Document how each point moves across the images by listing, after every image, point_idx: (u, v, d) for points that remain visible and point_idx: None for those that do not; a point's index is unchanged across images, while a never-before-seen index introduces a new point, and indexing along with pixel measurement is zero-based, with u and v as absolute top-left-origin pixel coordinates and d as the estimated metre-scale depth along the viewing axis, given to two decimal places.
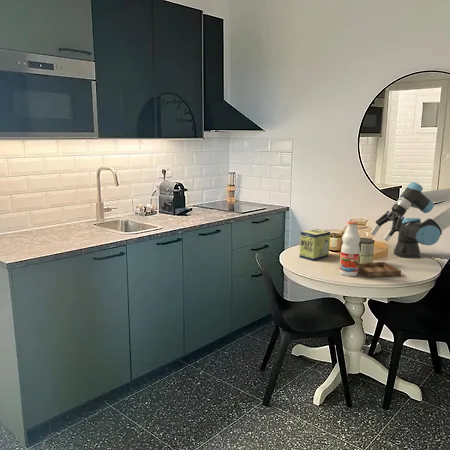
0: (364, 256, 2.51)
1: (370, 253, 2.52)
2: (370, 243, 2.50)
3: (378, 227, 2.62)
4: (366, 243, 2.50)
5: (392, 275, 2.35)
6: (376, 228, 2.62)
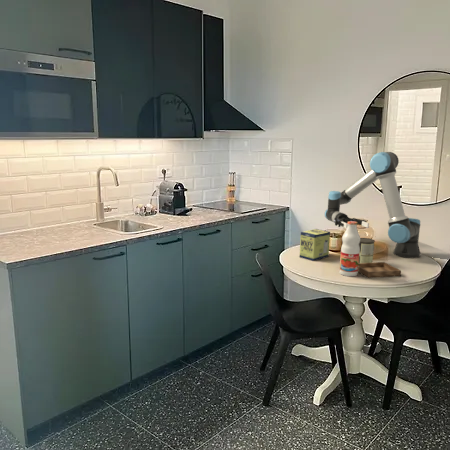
0: (364, 256, 2.51)
1: (370, 253, 2.52)
2: (370, 243, 2.50)
3: (362, 223, 2.69)
4: (366, 243, 2.50)
5: (392, 275, 2.35)
6: (363, 224, 2.68)
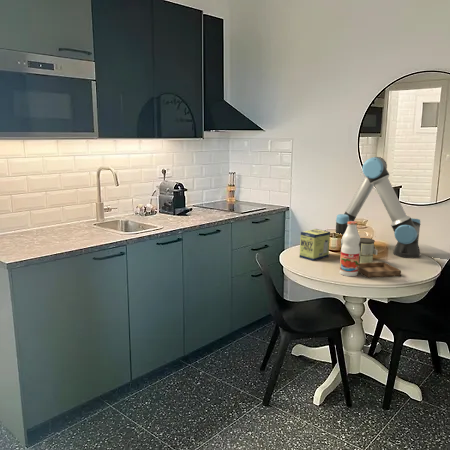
0: (364, 256, 2.51)
1: (370, 253, 2.52)
2: (370, 243, 2.50)
3: None
4: (366, 243, 2.50)
5: (392, 275, 2.35)
6: None
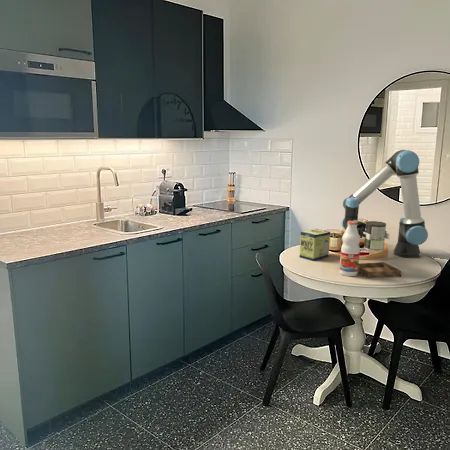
0: (375, 240, 2.36)
1: (381, 237, 2.36)
2: (381, 226, 2.34)
3: None
4: (377, 226, 2.34)
5: (392, 275, 2.35)
6: None
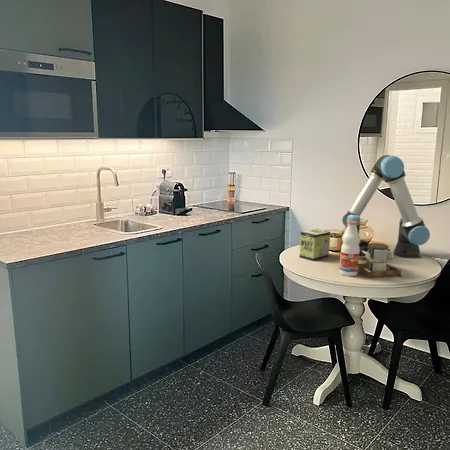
0: (377, 263, 2.36)
1: (384, 260, 2.36)
2: (384, 249, 2.34)
3: None
4: (379, 249, 2.34)
5: (392, 275, 2.35)
6: None
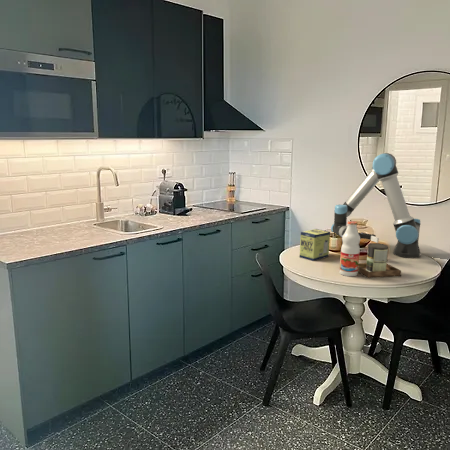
0: (377, 263, 2.36)
1: (384, 259, 2.36)
2: (384, 249, 2.34)
3: (371, 237, 2.57)
4: (380, 249, 2.34)
5: (392, 275, 2.35)
6: (373, 239, 2.56)
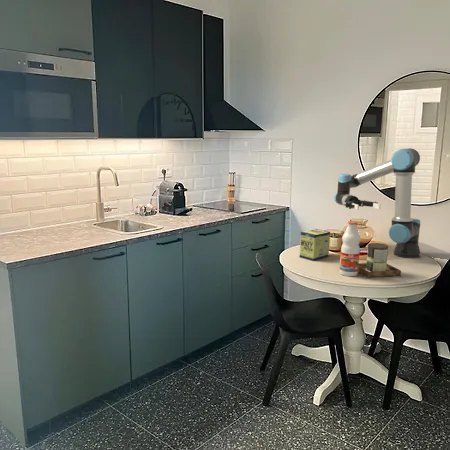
0: (377, 263, 2.36)
1: (384, 259, 2.36)
2: (384, 249, 2.34)
3: (374, 204, 2.62)
4: (380, 249, 2.34)
5: (392, 275, 2.35)
6: (375, 206, 2.61)
